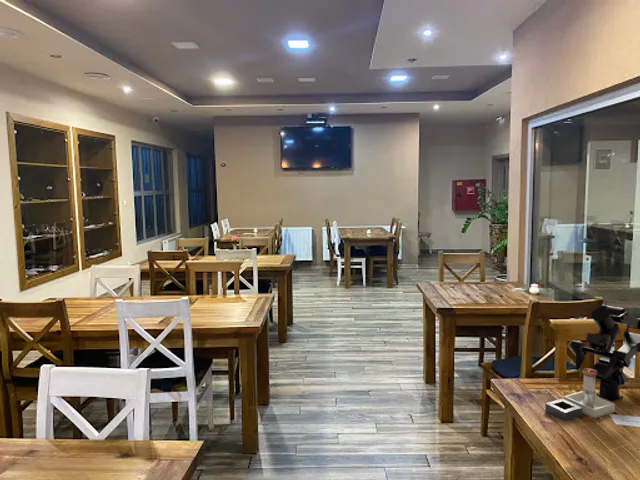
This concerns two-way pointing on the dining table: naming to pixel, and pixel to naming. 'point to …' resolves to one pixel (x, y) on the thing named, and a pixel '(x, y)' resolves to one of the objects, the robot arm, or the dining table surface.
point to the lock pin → (589, 387)
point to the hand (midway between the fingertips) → (590, 373)
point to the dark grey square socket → (563, 409)
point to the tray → (600, 408)
